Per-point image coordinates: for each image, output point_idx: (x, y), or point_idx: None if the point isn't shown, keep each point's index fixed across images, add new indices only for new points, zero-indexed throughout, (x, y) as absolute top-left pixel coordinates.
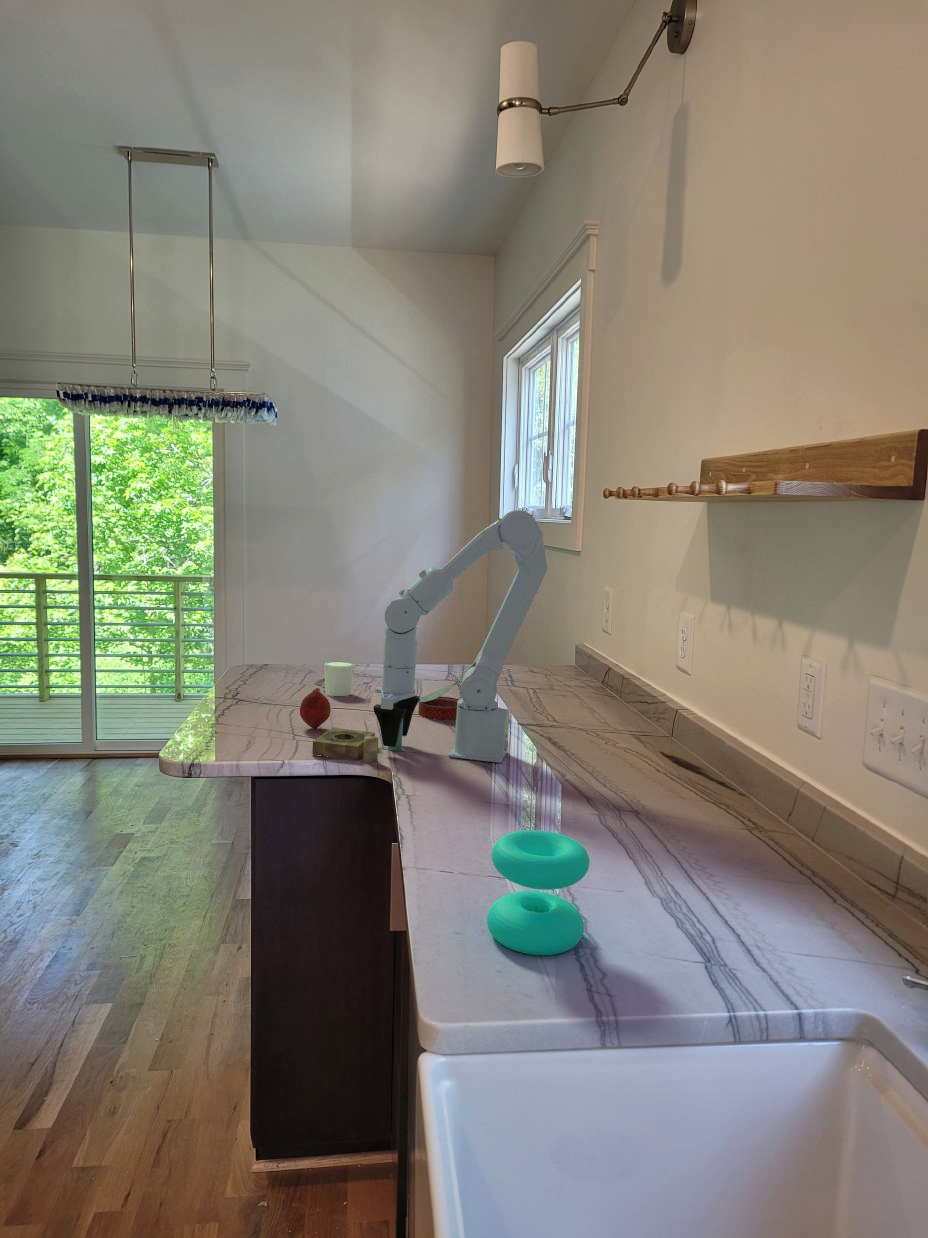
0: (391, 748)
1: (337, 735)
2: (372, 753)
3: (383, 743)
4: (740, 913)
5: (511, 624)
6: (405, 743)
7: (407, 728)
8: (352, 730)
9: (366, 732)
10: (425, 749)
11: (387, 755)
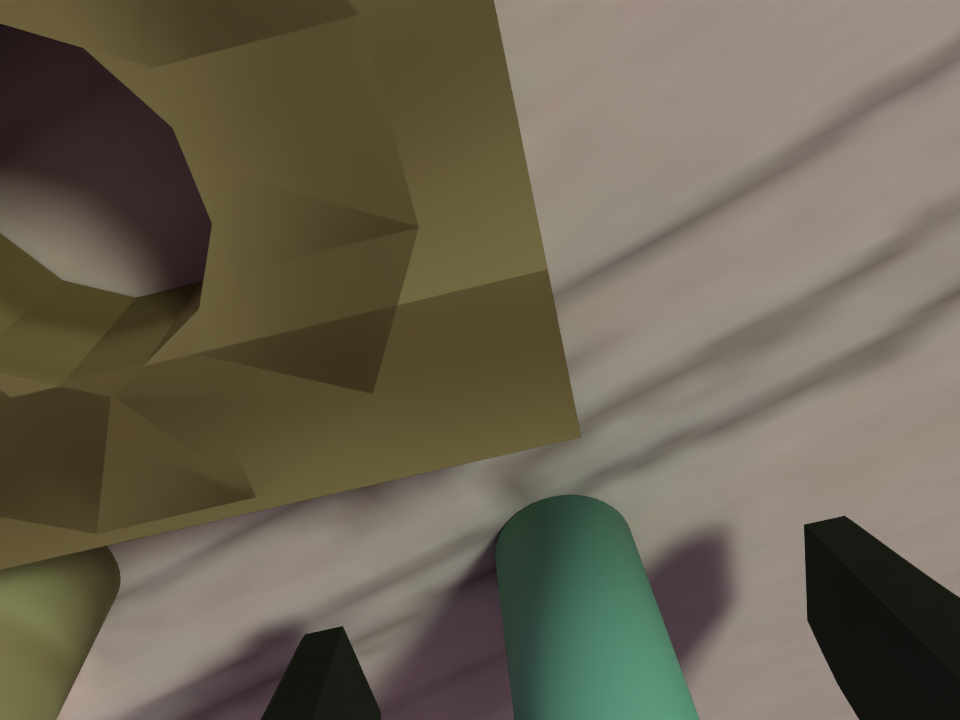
0: (497, 569)
1: (24, 25)
2: None
3: (291, 660)
4: None
5: None
6: None
7: (859, 709)
8: (473, 97)
9: (509, 348)
10: (717, 711)
11: (332, 592)
